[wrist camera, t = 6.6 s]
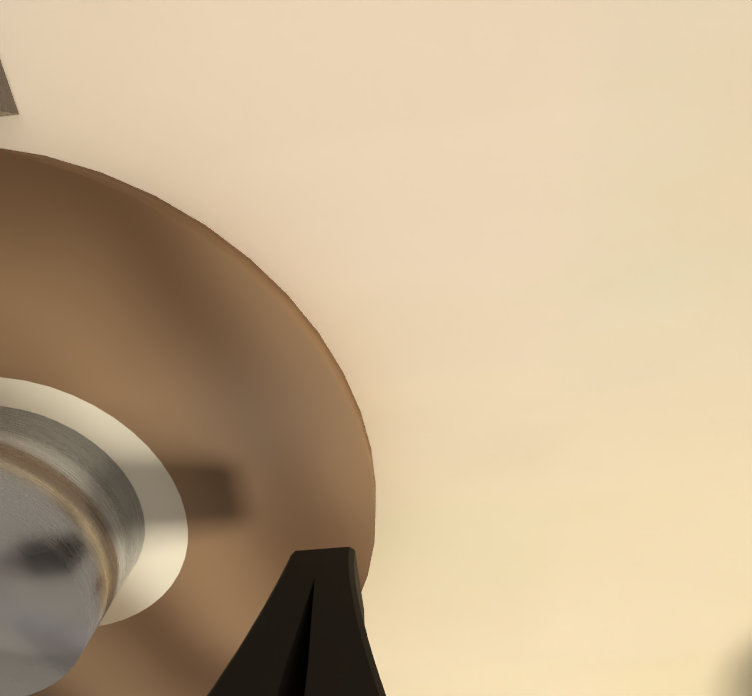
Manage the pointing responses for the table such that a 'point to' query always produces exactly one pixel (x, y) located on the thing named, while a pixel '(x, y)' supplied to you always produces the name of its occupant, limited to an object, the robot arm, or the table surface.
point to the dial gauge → (6, 96)
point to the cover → (57, 546)
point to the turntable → (177, 414)
